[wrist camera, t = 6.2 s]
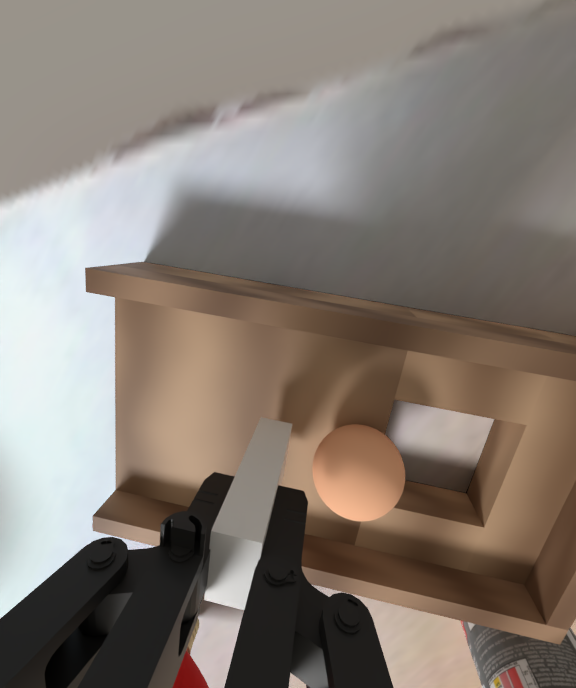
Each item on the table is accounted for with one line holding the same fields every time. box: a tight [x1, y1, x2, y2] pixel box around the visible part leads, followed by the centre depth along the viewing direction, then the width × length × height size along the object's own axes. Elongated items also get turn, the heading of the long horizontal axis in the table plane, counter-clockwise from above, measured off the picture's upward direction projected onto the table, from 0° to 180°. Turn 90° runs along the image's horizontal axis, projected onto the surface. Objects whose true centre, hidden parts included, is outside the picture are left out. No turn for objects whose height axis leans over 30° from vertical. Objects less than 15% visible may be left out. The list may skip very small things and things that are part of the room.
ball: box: [312, 424, 405, 521], centre depth 15 cm, size 4×4×4 cm
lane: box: [85, 262, 576, 645], centre depth 17 cm, size 24×14×4 cm, turn 81°
